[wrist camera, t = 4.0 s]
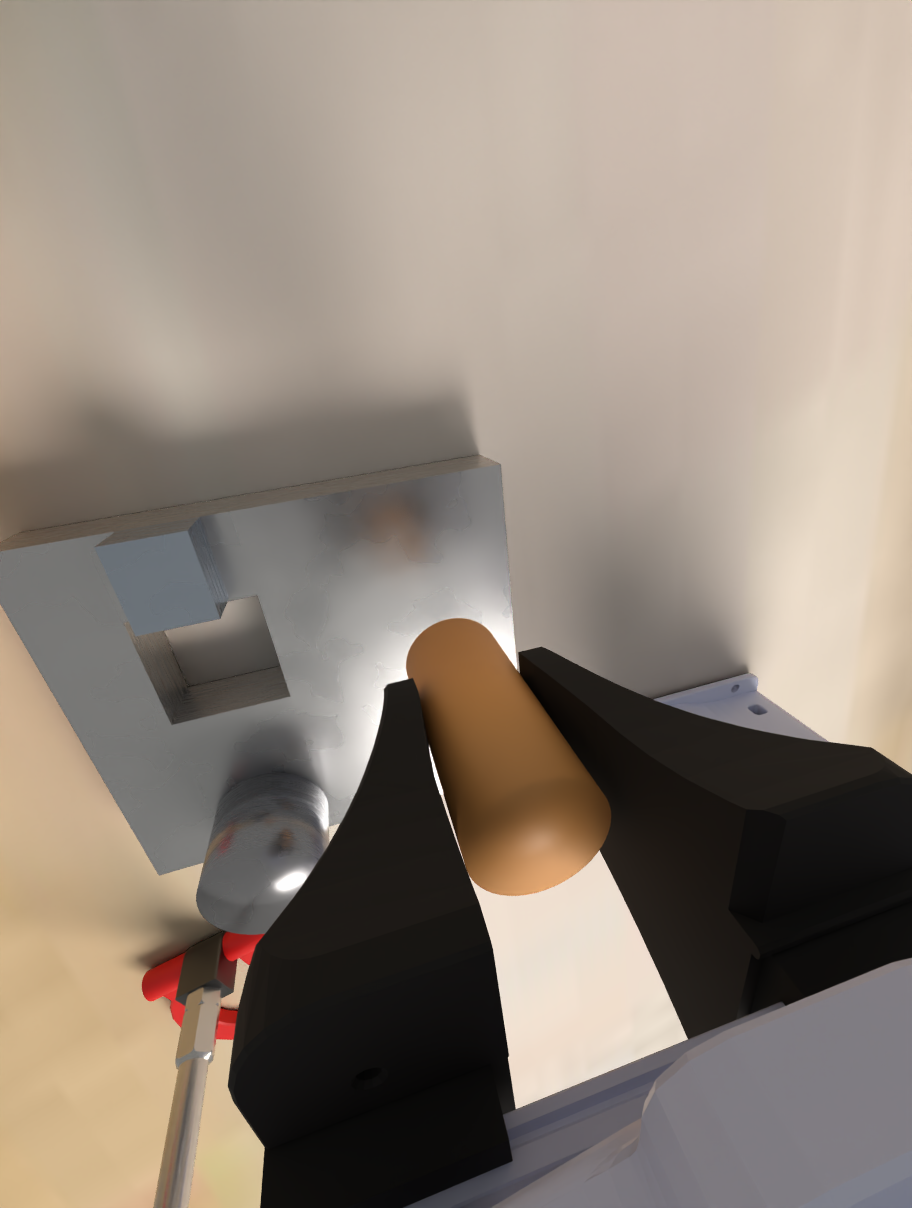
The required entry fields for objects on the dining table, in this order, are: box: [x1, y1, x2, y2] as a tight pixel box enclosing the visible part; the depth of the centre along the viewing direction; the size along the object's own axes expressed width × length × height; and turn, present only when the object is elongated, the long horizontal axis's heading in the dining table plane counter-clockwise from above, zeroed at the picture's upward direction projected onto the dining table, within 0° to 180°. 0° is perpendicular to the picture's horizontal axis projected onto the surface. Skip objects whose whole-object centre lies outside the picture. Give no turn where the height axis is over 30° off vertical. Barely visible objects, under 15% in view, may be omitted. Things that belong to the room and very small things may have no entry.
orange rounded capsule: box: [406, 618, 611, 896], centre depth 11 cm, size 3×3×6 cm
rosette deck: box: [0, 455, 517, 935], centre depth 18 cm, size 16×15×6 cm
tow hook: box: [142, 931, 264, 1208], centre depth 22 cm, size 8×13×9 cm
